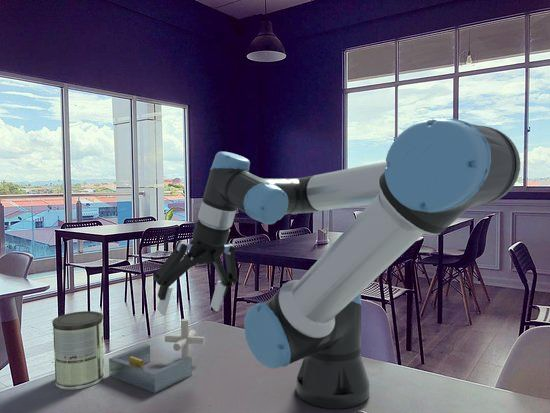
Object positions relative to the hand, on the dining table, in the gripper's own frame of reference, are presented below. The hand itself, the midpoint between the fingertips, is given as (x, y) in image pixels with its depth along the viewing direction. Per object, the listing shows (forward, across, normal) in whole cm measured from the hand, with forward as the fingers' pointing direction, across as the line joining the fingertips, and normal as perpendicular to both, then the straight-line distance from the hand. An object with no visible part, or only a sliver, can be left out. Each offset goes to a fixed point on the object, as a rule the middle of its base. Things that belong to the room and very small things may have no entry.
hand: (188, 310), depth 102 cm
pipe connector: (+17, -6, -4) cm, 18 cm away
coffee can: (+21, +17, -8) cm, 29 cm away
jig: (+17, +4, -1) cm, 17 cm away
